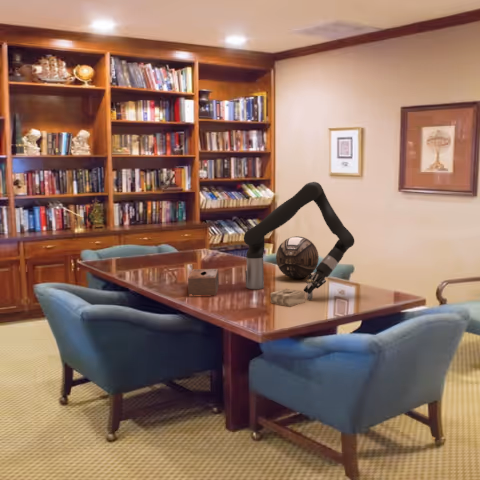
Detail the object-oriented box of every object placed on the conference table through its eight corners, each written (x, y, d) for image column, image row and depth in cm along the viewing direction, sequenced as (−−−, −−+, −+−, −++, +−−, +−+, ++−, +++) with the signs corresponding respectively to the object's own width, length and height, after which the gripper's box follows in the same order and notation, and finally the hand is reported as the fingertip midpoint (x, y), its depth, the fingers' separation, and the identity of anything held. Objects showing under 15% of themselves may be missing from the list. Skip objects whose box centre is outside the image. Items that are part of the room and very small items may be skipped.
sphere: (324, 275, 365) (323, 234, 361) (311, 283, 342) (310, 240, 339) (285, 273, 375) (284, 233, 372) (270, 281, 353) (269, 238, 349)
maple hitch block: (270, 302, 301) (270, 292, 300) (286, 298, 309) (286, 288, 309) (289, 306, 292) (289, 296, 292) (304, 301, 301) (304, 292, 300)
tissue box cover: (215, 296, 318) (215, 277, 317) (188, 297, 319) (187, 278, 317) (218, 286, 344) (218, 268, 343) (193, 286, 344) (192, 269, 343)
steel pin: (305, 299, 306) (305, 280, 305) (309, 298, 308) (309, 279, 307) (310, 300, 304) (310, 280, 302) (314, 299, 306) (314, 279, 305)
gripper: (315, 259, 313) (294, 285, 309) (330, 263, 300) (308, 290, 297) (324, 268, 316) (304, 294, 312) (339, 272, 303) (318, 299, 300)
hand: (306, 292), depth 305 cm, fingers closed on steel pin, 2 cm apart
